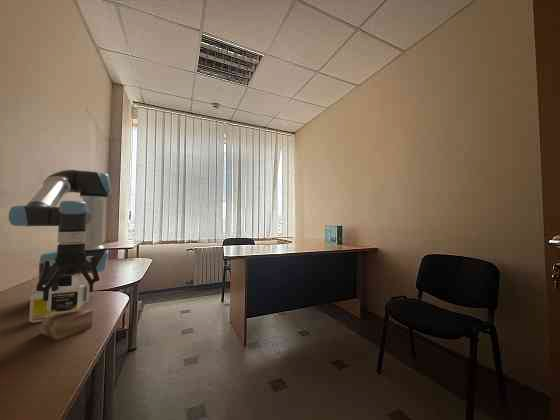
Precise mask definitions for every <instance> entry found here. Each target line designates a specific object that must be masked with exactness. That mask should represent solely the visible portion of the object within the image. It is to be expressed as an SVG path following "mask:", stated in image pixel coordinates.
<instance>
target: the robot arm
mask: <svg viewBox="0 0 560 420" xmlns="http://www.w3.org/2000/svg"><path fill="white" fill-rule="evenodd" d="M68 193H78V194H79V197H80V198H81V199H82V201H79V200H63V201H61V199H62V198H63V196H64V195H67V194H68ZM110 195H112V185H111V179H110V176H109V174H108V173H105V172H99V171H88V170H78V169H77V170H76V169H66V170H60V171H57V172H54V173H52V174H50V175H49V176H47V177H46V178H45V179H44V180H43V183H42V187H41V188H40V189H39V190H38V192H37V193H35V195H34V196H33V197H32V198H31V199H30V201H29V202H27V204H26V205H24V204H23V205H22V204H21V205H13V206H11V208H10V209H9V211H8V221H9V224H10V225H12V226H14V227H58V229H57V243H58V244H57V247H56V250H53V251H48V252H45V253H42V254H41V256H40V257H39V263H38V281H37V283H36V286H35V287H36V290H37V291H43V300H44V301H47V310H48V311H50V310H51V301H52V292H54V291H56V290H58V289H59V288H58V281H59V277H61V276H63V275H68V274H80V275H83V277H84V279H85V280H86V281H87V283H85V284H84V285H85V303H90V293H93V291H94V283H96V282H99V281H100V275H99V273H102V272H104V271H105V270H106V268H107V264H108V260H109V255H110V254H109V253H110V251H109V249H107V247H106V246H105V245H104V244H103V241H104V240H103V239H104V235H103V234H104V217H105V216H104V213H105V212H104V210H105V201H106V200H107V199H109V196H110ZM59 202H60V203H59ZM58 204H59V206H57V205H58ZM90 274H92V277H93V278H92V277H91V275H90ZM43 285H45V287H43ZM50 288H51V290H49V289H50ZM33 294H35V291H34V292H33Z"/></svg>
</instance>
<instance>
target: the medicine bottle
mask: <svg viewBox="0 0 560 420" xmlns="http://www.w3.org/2000/svg"><path fill="white" fill-rule="evenodd" d="M58 288H59V289H58V290H56V291H54V292H53V293H52V301H51V313H59V312H68V311H76V310H78V309H79V308H80V307H81V308H82V307H83V305H84V304H85V303H86V302H85V284H82V274H68V275H63V276H61V277H59V281H58Z"/></svg>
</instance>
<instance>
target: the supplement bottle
mask: <svg viewBox="0 0 560 420" xmlns="http://www.w3.org/2000/svg"><path fill="white" fill-rule="evenodd" d="M43 287H45V285H43ZM49 290H51V288H50V289H49ZM33 291H34V292H35V294H34V293H33V294H32V295H31V296H30V298H29V299H30V300H29V318H28V322H29V323H33V324H34V323H42V318H43V316H46V315H50V314H53V313H51V310H50V311H48V310H47V301H44V300H43V291H37V290H36V286H35V287H34V289H33ZM52 293H53V292H52Z"/></svg>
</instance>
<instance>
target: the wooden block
mask: <svg viewBox="0 0 560 420" xmlns="http://www.w3.org/2000/svg"><path fill="white" fill-rule="evenodd" d="M92 327H93V310H90V309H87V308H84V307H82V306H81V307H80V308H79V309H78V310H76V311H68V312H59V313H53V314H50V315H46V316H43V318H42V322H41V334H42V335H44V336H47V337H49V338H52V339H54V340H57V341H58V340H60V339H63V338H66V337H68V335H69V336H71V335H75V334H76V333H79V332H81V331H84V330H87V329H90V328H92Z"/></svg>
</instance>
